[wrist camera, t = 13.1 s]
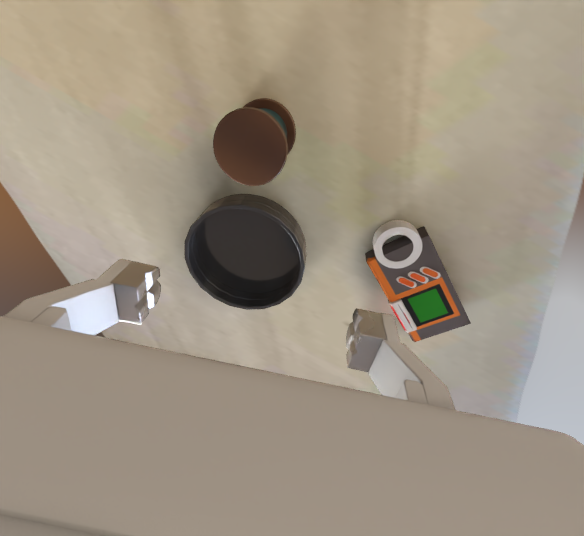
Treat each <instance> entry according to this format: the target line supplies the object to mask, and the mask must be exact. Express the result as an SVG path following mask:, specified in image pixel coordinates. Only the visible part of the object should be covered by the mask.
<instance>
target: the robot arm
mask: <svg viewBox="0 0 584 536" xmlns="http://www.w3.org/2000/svg"><path fill="white" fill-rule="evenodd" d="M159 277H160V269H159V268H158V267H156V266H152V265H147V264H143V263H139V262H133V261H129V260H125V259H119V260H118V261H117V262H116V263H114V264H113V265H112V266H111V267H110V268H109V269H108V270H107V271H105V272H104V273H103V274H102V275H101V276H100V277H99V278H98V279H97V280H94V279H91V280H88V281H84V282H81V283H78V284H75V285H71V286H68V287H65V288H61V289H58V290H55V291H52V292H48V293H45V294H42V295H39V296H35V297H32V298H28V299H26V300H24V301H23V302H22V303H20V304H19V305H18V306H16V307H15V308H14V309H12V310H11V311H10V312H8V313H7V314H6V315H4V316H0V536H584V445H583V444H581V443H580V442H579V441H577V440H576V439H574V438H573V437H571V436H569V435H567V434H564V433H561V432H558V431H553V430H549V429H544V428H539V427H534V426H529V425H524V424H519V423H515V422H510V421H505V420H500V419H495V418H490V417H485V416H480V415H476V414H471V413H466V412H461V411H456V410H455V407H454V405H453V402H452V399H451V396H450V393H449V390H448V388H447V386H446V385H445V384H444V383H443V382H442V381H441V380H440V379H439V378H438V377H437V376H436V375H435V374H434V373H433V372H432V371H431V370H430V369H429V368H428V367H427V366H426V365H425V364H424V363H423V362H422V361H421V360H420V359H419V358H418V357H417V356H416V355H415V354H414V353H413V352H412V351H411V350H410V349H409V348H408V347H407V346H406V345H405V344H402V343H400V339H399V335H398V331H397V327H396V323H395V319H394V316H393V315H390V314H384V313H376V312H371V311H367V310H362V309H357V308H356V309H355V311H354V314H353V322H352V323H351V324H350V325H349V328H348V331H347V336H346V347H347V348H348V352H347V368H351V369H356V370H360V371H364V372H368V374H369V376H370V377H371V379H372V381H373V382H374V384H375V385H376V387H377V388H378V390H379V391H380V393H381V394H382V395H379V394H374V393H369V392H365V391H360V390H355V389H350V388H345V387H340V386H336V385H331V384H326V383H321V382H316V381H311V380H307V379H302V378H297V377H292V376H287V375H283V374H278V373H273V372H268V371H263V370H258V369H254V368H249V367H244V366H239V365H234V364H229V363H224V362H220V361H215V360H210V359H205V358H200V357H196V356H191V355H186V354H181V353H176V352H172V351H167V350H162V349H157V348H152V347H147V346H143V345H138V344H133V343H128V342H123V341H119V340H114V339H109V338H104V337H99V336H94V335H96V334H97V333H99V332H101V331H103V330H105V329H107V328H109V327H110V326H112V325H114V324H116V323H118V322H119V321H123V322H129V323H134V324H140V325H141V323H142V322H143V321H144V319H145V318H146V317H147V315H148V314H149V308H152V307H154V306H155V305H156V303H157V302H158V299H159V297H160V292H161V285H160V283H159V282H158V281H157V279H158V278H159Z"/></svg>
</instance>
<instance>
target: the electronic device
mask: <svg viewBox="0 0 584 536" xmlns="http://www.w3.org/2000/svg"><path fill="white" fill-rule="evenodd" d="M394 235H404V236H402V237H400V238H398V239H395V240H393V241H391V242H389V243H387V244H385V245H383V244H384V242H385V241H386V240H387V239H388V238H389V237H391V236H394ZM373 247H374V250H372V251H369V252H367V253H365V255H366V262H367V264H368V265H369V267H370V269H371V270H372V272H373V274H374V276H375V277H376V279H377V281H378V282H379V284H380V286H381V288H382V289H383V291H384V293H385V294H386V296H387V298H388V301H389V305H390V306H391V308H392V310H393V311H394V313H395V315H396V317H397V318H398V320H399V322H400V323H401V325H402V327H403V328H404V330H405V332H407V333H408V334H409V335H410V337H411V339H412V341H414V342H416V341H419V340H422V339H425V338H428V337H431V336H434V335H438V334H441V333H444V332H446V331H449V330H452V329H455V328H458V327H462V326H465V325H468V324H471V323H470V321H469V319H468V316H467V314H466V312H465V310H464V308H463V306H462V304H461V302H460V300H459V298H458V295H457V293H456V291H455V289H454V287H453V285H452V283H451V281H450V279H449V277H448V274H447V272H446V270H445V268H444V266H443V264H442V262H441V260H440V258H439V256H438V253H437V251H436V249H435V247H434V245H433V243H432V241H431V239H430V237H429V235H428V233H427V231H426V229H425V227H421V228H419V229H417V230H416V228H415V227H414V226H413V225H412V224H410V223H409V222H406V221H403V220H393V221H389V222H387V223H385V224H383V225H382V226H380V227H379V228H378V230H377V231H376V232H375V234H374V237H373Z"/></svg>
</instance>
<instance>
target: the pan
mask: <svg viewBox="0 0 584 536" xmlns="http://www.w3.org/2000/svg"><path fill="white" fill-rule="evenodd" d="M185 260H186V263H187V266H188V268H189V271H190V274H191V275H192V277H193V278H194V279H195V281H196V282H197V283H198V285H199V286H200V287H201V288H202V289H203V290H204V291H206V292H207V293H208V294H209V295H211V296H212V297H213V298H214V299H217V300H219V301H221V302H223V303H225V304H227V305H229V306H233V307H238V308H242V309H265V308H268V307H271V306H275V305H278V304H280V303H281V302H283V301H284V300H286V299H287V298H289V297H290V296H292V295H293V293H294V292H295V290H296V289H297V287H298V286H299V285H300V283H301V281H302V277H303V273H304V268H305V262H306V242H305V238H304V235H303V232H302V230H301V228H300V226H299V224H298V223H297V221H296V220H295V219H294V217H293V216H292V215H291V214H290V213H289V212H288V211H287V210H286V209H284V208H283V207H282V206H280V205H279V204H277V203H275V202H274V201H272V200H269V199H267V198H265V197H261V196H257V195H251V194H236V195H230V196H226V197H224V198H221V199H219V200H217V201H216V202H214V203H212V204H211V205H210V206H209V207H208V208H207V209H206V210H205V211H204V212H203V213H202V214H201V215H200V216H199V217H198V218H197V220H196V221H195V222H194V223H193V224H192V225H191V227H190V229H189V232H188V234H187V237H186V239H185Z"/></svg>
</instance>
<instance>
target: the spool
mask: <svg viewBox="0 0 584 536" xmlns="http://www.w3.org/2000/svg"><path fill="white" fill-rule="evenodd" d="M295 136H296V129H295V124H294V120H293V118H292V116H291V114H290V113H289V111H288V110H287V109H286V108H285V107H284V106H283V105H282V104H280V103H279V102H277V101H275V100H272V99H267V98H261V99H256V100H253V101H251V102H249V103H248V104H246V105H245V106H244V107H243V108H239V109H236V110H234V111H232V112H230V113H229V114H227V115H226V116H225V117H224V118H223V119H222V120H221V121H220V122H219V124H218V126H217V128H216V130H215V134H214V139H213V148H214V154H215V157H216V160H217V162H218V164H219V166H220V167H221V169H222V170H223V171H224V172H225V174H227V175H228V176H229V177H230V178H231V179H233V180H234V181H236V182H238V183H241V184H244V185H248V186H259V185H263V184H266V183H268V182H270V181H272V180H273V179H274V178H276V177H277V175H278V174H279V173H280V172H281V170H282V168H283V166H284V164H285V162H286V158H287V155H288V154H289V152H290V151H291V149H292V147H293V145H294V142H295Z"/></svg>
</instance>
